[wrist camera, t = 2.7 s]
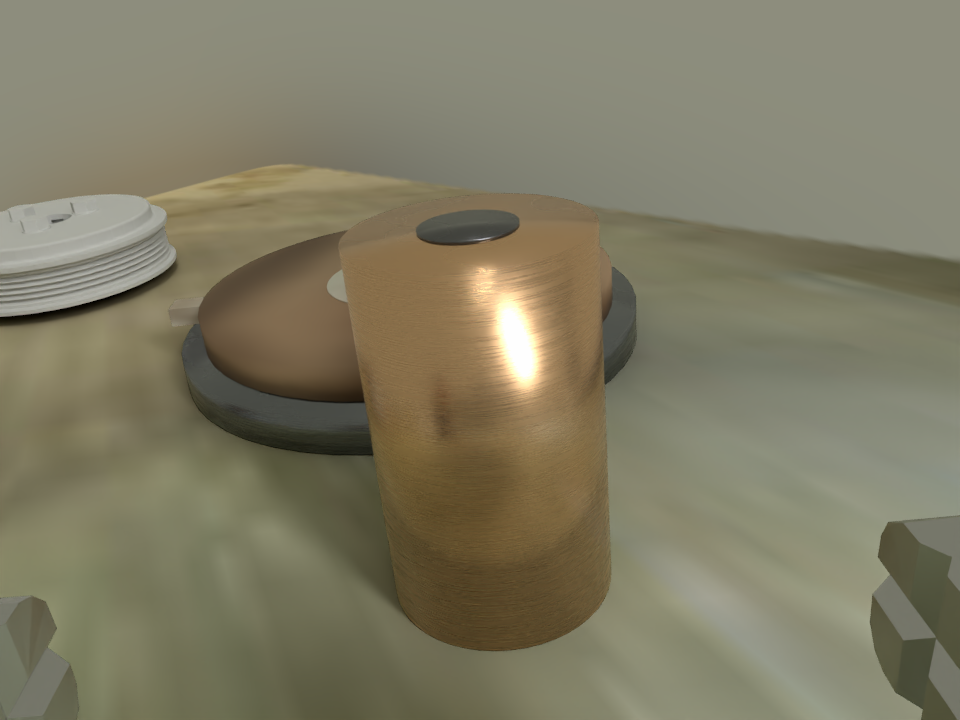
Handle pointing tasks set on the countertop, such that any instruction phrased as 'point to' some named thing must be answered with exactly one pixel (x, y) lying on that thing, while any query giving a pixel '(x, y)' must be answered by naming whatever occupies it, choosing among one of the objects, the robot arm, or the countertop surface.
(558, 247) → the canister
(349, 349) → the turntable
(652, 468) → the countertop surface
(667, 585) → the countertop surface
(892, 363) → the countertop surface
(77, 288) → the lid
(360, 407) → the turntable base
